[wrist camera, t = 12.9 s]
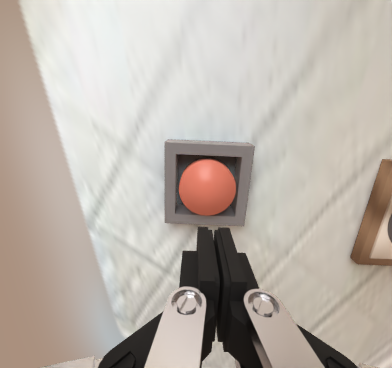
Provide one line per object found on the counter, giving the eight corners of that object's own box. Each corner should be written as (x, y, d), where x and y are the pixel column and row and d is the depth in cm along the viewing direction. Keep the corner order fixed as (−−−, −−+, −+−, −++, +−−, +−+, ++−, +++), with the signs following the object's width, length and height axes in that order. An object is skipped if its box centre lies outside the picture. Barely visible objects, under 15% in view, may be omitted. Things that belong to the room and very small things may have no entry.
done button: (180, 156, 20) (179, 160, 18) (235, 159, 20) (238, 163, 18) (179, 206, 21) (178, 214, 20) (230, 208, 21) (233, 216, 20)
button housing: (168, 139, 21) (164, 142, 18) (248, 142, 21) (254, 146, 18) (168, 211, 23) (164, 222, 21) (239, 215, 23) (244, 226, 21)
